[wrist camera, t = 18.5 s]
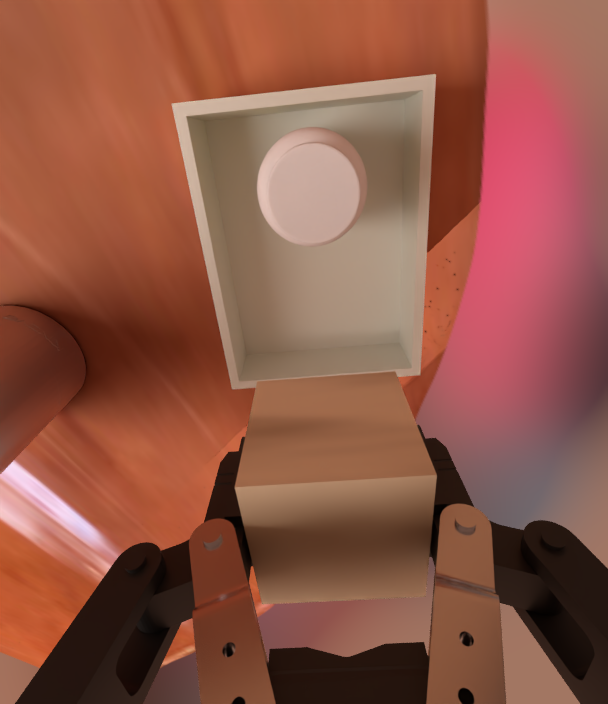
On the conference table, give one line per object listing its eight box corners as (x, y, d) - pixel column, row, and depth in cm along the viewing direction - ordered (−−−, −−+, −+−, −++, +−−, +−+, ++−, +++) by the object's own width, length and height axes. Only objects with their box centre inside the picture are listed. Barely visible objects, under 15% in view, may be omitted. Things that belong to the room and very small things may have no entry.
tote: (404, 343, 31) (420, 375, 27) (242, 356, 32) (232, 389, 28) (411, 88, 23) (436, 73, 19) (196, 111, 24) (171, 103, 20)
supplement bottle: (367, 196, 25) (399, 220, 17) (297, 240, 27) (292, 284, 18) (325, 113, 23) (337, 90, 15) (251, 165, 25) (221, 174, 16)
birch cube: (392, 474, 16) (425, 596, 12) (273, 481, 16) (262, 604, 12) (395, 371, 14) (436, 475, 10) (256, 381, 14) (234, 487, 10)
